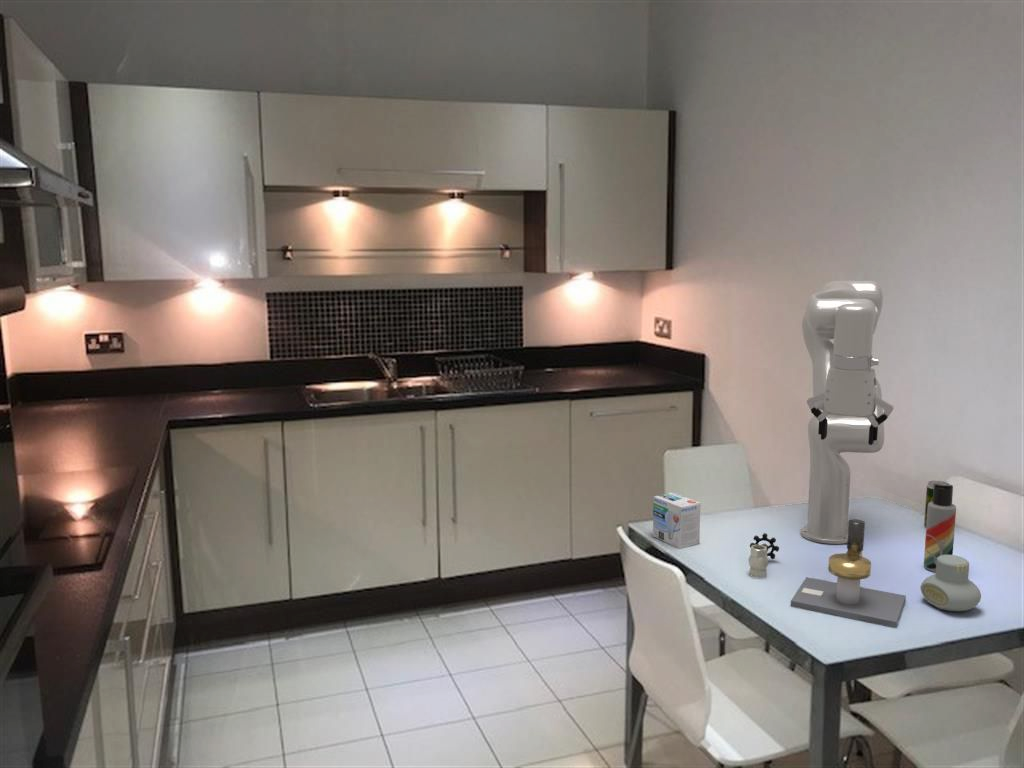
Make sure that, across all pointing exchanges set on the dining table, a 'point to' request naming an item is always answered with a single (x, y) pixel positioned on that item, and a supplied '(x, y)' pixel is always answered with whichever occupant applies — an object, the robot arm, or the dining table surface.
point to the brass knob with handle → (852, 555)
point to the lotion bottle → (939, 526)
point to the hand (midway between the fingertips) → (847, 440)
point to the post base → (849, 601)
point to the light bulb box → (676, 520)
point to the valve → (761, 555)
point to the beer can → (930, 495)
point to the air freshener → (951, 585)
